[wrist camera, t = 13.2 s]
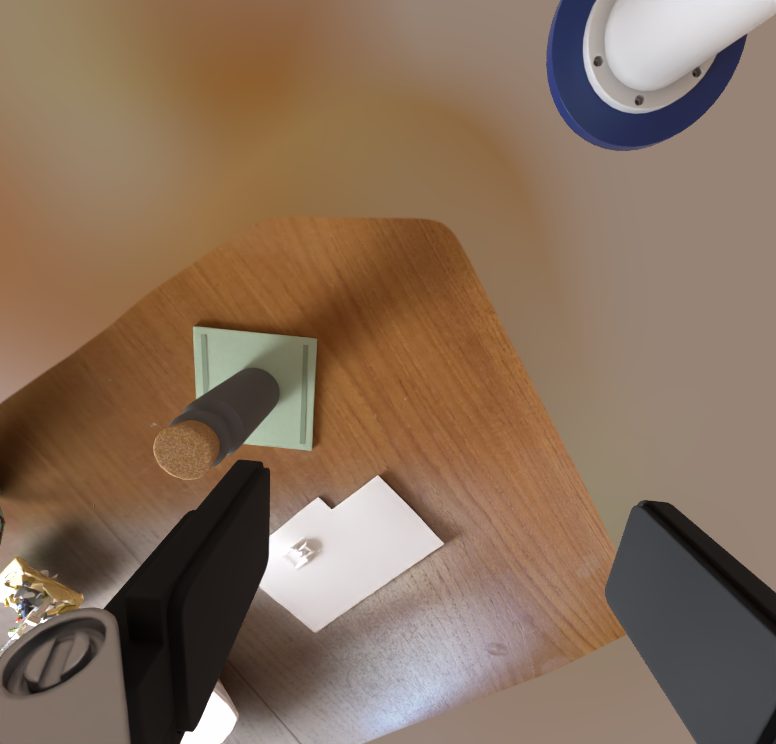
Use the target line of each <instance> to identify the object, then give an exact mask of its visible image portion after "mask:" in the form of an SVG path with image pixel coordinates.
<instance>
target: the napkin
mask: <svg viewBox="0 0 776 744" xmlns="http://www.w3.org/2000/svg"><path fill="white" fill-rule="evenodd" d="M193 340H194V361H195V382H196V399H198V398H199V397H201V396H202V395H204V394H205V393H207V392H208V391H210V390H211V389H213V388H214V387H216V386H217V385H219V384H221V383H222V382H224V381H225V380H227V379H228V378H230V377H231V376H233V375H235V374H236V373H238V372H240V371H242V370H244V369H247V368H258V369H262V370H264V371H266V372H268V373H269V374H270V375H272V376H273V377H274V379H275V380H276V382H277V384H278V386H279V391H280V396H279V400H278V403H277V405H276V406H275V407H274V409H273V410H272V411H271V412H270V413H269V415H268V416H267V417H266V418H265V419H264V420H263V421H262V423H261V424H260V425H259V426H258V427H257V428H256V429H255V431H254V432H253V433H252V434H251V435H250V436H249V437H248V438H247V440H246V441H245V442H244V443H243V444H251V445H261V446H271V447H281V448H291V449H301V450H312V442H313V420H314V399H315V377H316V356H317V338H307V337H297V336H287V335H278V334H268V333H258V332H248V331H238V330H229V329H219V328H209V327H199V326H193Z"/></svg>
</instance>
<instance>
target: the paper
mask: <svg viewBox="0 0 776 744" xmlns="http://www.w3.org/2000/svg"><path fill="white" fill-rule="evenodd" d="M442 545H444V543H443V542H442V541H441V540H440V539H439V538H438V537H437V536H436V535H435V533H434V532H433V531H432V530H431V529H430V528H429V527H428V526H427V525H426V524H425V523H424V521H423V520H422V519H421V518H420V517H419V516H418V515H417V514H416V513H415V512H414V511H413V510H412V509H411V508H410V507H409V506H408V505H407V504H406V503H405V502H404V501H403V500H402V499H401V498H400V497H399V496H398V495H397V494H396V493H395V492H394V491H393V490H392V489H391V488H390V487H389V486H388V485H387V484H386V483H385V482H384V481H383V480H382V479H381V478H380V477H379V476H378V475H377V476H376V477H375V478H373V479H372V480H371V481H369V482H368V483H367V484H366V485H364V486H363V487H362V488H360V489H359V490H358V491H356V492H355V493H354V494H352V495H351V496H350V497H348V498H347V499H346V500H344V501H343V502H341V503H340V504H339V505H337V506H336V507H335V508H333V509H331V508H329V507H328V506H327V505H326V504H325V503H324V502H323V501H322V500H321V499H320V498H319V497H317V498H316V499H315V500H314V501H312V502H311V503H310V504H308V505H307V506H306V507H305V508H303V509H302V510H301V511H300V512H298V513H297V514H296V515H295V516H294V517H292V518H291V519H290V520H289V521H288V522H286V523H285V524H284V525H283V526H282V527H280V528H279V529H278V530H277V531H275V532H274V533H273V534H271V535H270V536H269V559H268V564H267V568H266V570H265V573H264V575H263V578H262V580H261V582H260V584H259V587H260V588H261V589H262V590H264V591H265V592H266V593H267V594H268V595H270V596H271V597H272V598H273V599H274V600H276V601H277V602H278V603H279V604H281V605H282V606H283V607H285V608H286V609H287V610H288V611H289V612H291V613H292V614H293V615H294V616H295V617H296V618H298V619H299V620H300V621H301V622H302V623H303V624H305V625H306V626H307V627H308V628H309V629H311V630H312V631H313V632H314V633H316V632H317V631H319V630H320V629H322V628H323V627H324V626H326V625H327V624H329V623H330V622H332V621H333V620H335V619H336V618H337V617H339V616H340V615H342V614H343V613H345V612H346V611H348V610H349V609H350V608H352V607H353V606H355V605H356V604H358V603H359V602H360V601H362V600H363V599H365V598H366V597H368V596H369V595H370V594H372V593H373V592H375V591H376V590H378V589H379V588H381V587H382V586H384V585H385V584H386V583H388V582H389V581H391V580H392V579H394V578H395V577H397V576H398V575H399V574H401V573H402V572H404V571H405V570H407V569H408V568H410V567H411V566H412V565H414V564H415V563H417V562H418V561H420V560H421V559H423V558H424V557H426V556H427V555H429V554H430V553H432V552H433V551H435V550H436V549H438V548H439V547H441V546H442Z"/></svg>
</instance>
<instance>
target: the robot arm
mask: <svg viewBox="0 0 776 744" xmlns="http://www.w3.org/2000/svg"><path fill="white" fill-rule="evenodd" d="M775 14H776V0H596V2H595V3H594V5H593V7H592V9H591V12H590V15H589V18H588V20H587V23H586V28H585V33H584V38H583V59H584V67H585V70H586V74H587V77H588V80H589V82H590V84H591V86H592V87H593V89H594V91H595V92H596V93H597V95H598V96H599V97H600V98H601V99H602V100H603V101H604V102H605V103H607V104H608V105H609V106H611V107H612V108H615V109H617V110H620V111H622V112H627V113H633V114H638V113H648V112H652V111H656V110H659V109H661V108H663V107H666V106H668V105H670V104H672V103H673V102H675V101H676V100H678V99H679V98H681V97H683V96H684V95H685V94H686V93H688V92H689V91H690V90H691V89H692V88H694V87H695V86H696V84H697V83H698V82H699V81H700V80H701V79H702V78H703V77H704V75H705V74H706V72H707V71H708V69H709V68H710V66H711V64H712V63H713V61H714V59H715V57H716V55H717V53H719V52H720V51H722V50H723V49H725V48H726V47H728V46H729V45H731V44H732V43H733V42H735V41H736V40H738V39H739V38H741V37H742V36H744V35H745V34H747V33H748V32H750V31H751V30H753V29H754V28H756V27H757V26H758V25H760V24H762V23H763V22H764V21H766V20H767V19H769V18H770V17H772V16H773V15H775ZM594 64H595V65H596V66H595V65H594ZM269 518H270V470H269V468H264V467H263V463H262V462H259V461H249V460H238V461H237V462H236V463H235V464H234V465H233V466H232V468H231V469H230V470H229V471H228V472H227V474H226V475H225V476H224V477H223V478H222V479H221V481H220V482H219V483H218V484H217V485H216V487H215V488H214V489H213V490H212V491H211V493H210V494H209V495H208V496H207V497H206V499H205V500H204V501H203V502H202V503H201V505H200V506H199V507H198V508H197V509H196V510H192V511H189V512H188V513H187V514H186V515H184V516H183V518H182V519H181V520H180V521H179V522H178V523H177V525H176V526H175V527H174V528H173V529H172V530H171V532H170V533H169V534H168V535H167V536H166V537H165V538H164V540H163V541H162V542H161V543H160V544H159V545H158V547H157V548H156V549H155V550H154V551H153V552H152V553H151V555H150V556H149V557H148V558H147V559H146V560H145V562H144V563H143V564H142V565H141V566H140V567H139V569H138V570H137V571H136V572H135V573H134V574H133V575H132V577H131V578H130V579H129V580H128V581H127V582H126V584H125V585H124V586H123V587H122V588H121V589H120V590H119V592H118V593H117V594H116V595H115V596H114V597H113V599H112V600H111V601H110V602H109V603H108V604H107V606H106V607H105V608H104V609H99V608H83V609H76V610H73V611H69V612H66V613H63V614H59V615H57V616H55V617H53V618H51V619H49V620H47V621H45V622H42V623H40V624H39V625H37V626H36V627H34V628H33V629H31V630H30V631H28V632H27V633H25V634H24V635H22V636H21V637H20V638H19V639H18V640H16V641H15V642H14V643H13V644H12V645H11V646H10V647H9V648H7V649H6V650H5V651H4V653H3V654H2V655H1V657H0V744H180V743H181V741H182V739H183V736H184V734H185V732H193V731H194V730H195V729H196V728H197V726H198V724H199V722H200V720H201V718H202V715H203V713H204V711H205V708H206V706H207V704H208V702H209V699H210V697H211V695H212V692H213V690H214V688H215V685H216V683H217V681H218V679H219V676H220V674H221V672H222V669H223V667H224V665H225V662H226V660H227V658H228V656H229V653H230V651H231V649H232V646H233V644H234V642H235V640H236V637H237V635H238V633H239V630H240V628H241V626H242V623H243V621H244V619H245V617H246V614H247V612H248V610H249V607H250V605H251V603H252V600H253V598H254V596H255V594H256V591H257V589H258V587H259V584H260V582H261V580H262V578H263V575H264V573H265V570H266V568H267V564H268V559H269ZM605 596H606V600H607V603H608V604H609V606H610V608H611V609H612V611H613V613H614V614H615V616H616V617H617V619H618V620H619V622H620V624H621V625H622V627H623V628H624V630H625V631H626V633H627V635H628V636H629V638H630V639H631V641H632V642H633V644H634V646H635V647H636V649H637V650H638V652H639V653H640V655H641V657H642V658H643V660H644V661H645V663H646V664H647V666H648V668H649V669H650V671H651V672H652V674H653V675H654V677H655V678H656V680H657V682H658V683H659V685H660V687H661V688H662V690H663V691H664V693H665V694H666V696H667V697H668V699H669V701H670V702H671V704H672V705H673V707H674V709H675V710H676V711H677V713H678V715H679V716H680V718H681V719H682V721H683V723H684V724H685V726H686V727H687V729H688V730H689V732H690V734H691V735H692V737H693V738H694V740H695V741H696V743H697V744H776V593H775V592H774V591H773V590H772V589H771V588H769V587H768V586H767V585H766V584H765V583H764V582H762V581H761V580H760V579H759V578H758V577H756V576H755V575H754V574H753V573H752V572H751V571H749V570H748V569H747V568H746V567H745V566H743V565H742V564H741V563H740V562H739V561H738V560H736V559H735V558H734V557H733V556H731V554H729V553H728V552H727V551H726V550H725V549H723V548H722V547H721V546H720V545H719V544H717V543H716V542H715V541H714V540H713V539H712V538H711V537H709V536H708V535H707V534H706V533H704V532H703V531H702V530H701V529H700V528H699V527H698V526H696V525H695V524H694V523H693V522H692V521H690V520H689V519H688V518H687V517H686V516H685V515H683V514H682V513H681V512H680V511H679V510H678V509H676V508H675V507H674V506H673V505H671V504H669V503H665V502H657V501H647V500H644V501H641V502H639V503H638V505H637V506H634V507H633V508H632V510H631V512H630V515H629V518H628V521H627V524H626V527H625V531H624V533H623V536H622V539H621V542H620V546H619V548H618V551H617V554H616V557H615V560H614V563H613V566H612V569H611V572H610V575H609V578H608V581H607V584H606V588H605Z"/></svg>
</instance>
